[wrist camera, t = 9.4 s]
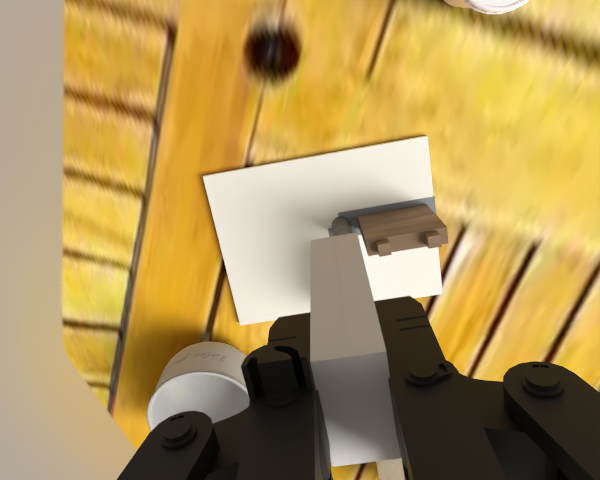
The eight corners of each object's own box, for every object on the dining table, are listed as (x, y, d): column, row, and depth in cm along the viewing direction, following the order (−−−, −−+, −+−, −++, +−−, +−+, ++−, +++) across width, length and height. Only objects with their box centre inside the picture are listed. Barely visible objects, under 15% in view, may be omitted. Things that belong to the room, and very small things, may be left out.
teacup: (230, 311, 51) (217, 353, 44) (285, 386, 54) (281, 437, 47) (125, 370, 54) (96, 419, 46) (183, 438, 57) (165, 495, 49)
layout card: (203, 175, 47) (202, 176, 46) (427, 135, 45) (428, 136, 44) (240, 322, 52) (240, 325, 51) (441, 291, 50) (443, 293, 50)
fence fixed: (330, 218, 47) (335, 249, 39) (426, 201, 46) (451, 230, 38) (333, 235, 48) (338, 270, 40) (428, 219, 47) (453, 251, 39)
